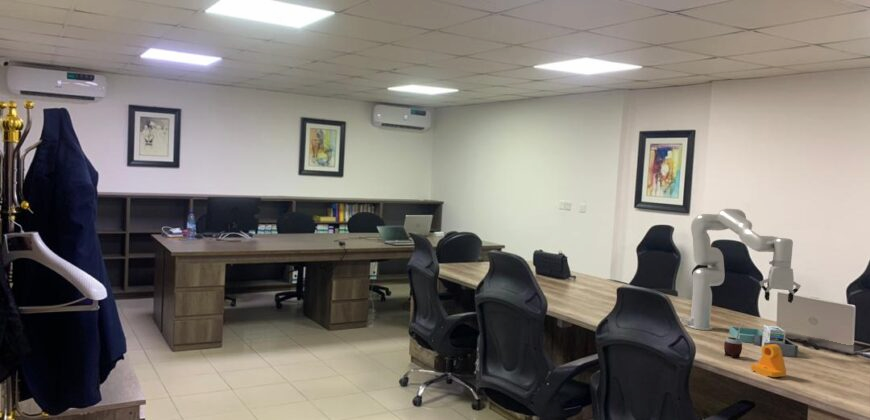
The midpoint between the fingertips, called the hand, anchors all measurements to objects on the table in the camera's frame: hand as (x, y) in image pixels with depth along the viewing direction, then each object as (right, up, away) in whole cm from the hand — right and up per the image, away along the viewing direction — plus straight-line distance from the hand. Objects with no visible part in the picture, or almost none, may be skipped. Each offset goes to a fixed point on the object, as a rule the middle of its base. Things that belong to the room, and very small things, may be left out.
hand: (778, 301), depth 291 cm
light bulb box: (-3, -23, 0) cm, 23 cm away
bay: (-3, -23, 0) cm, 23 cm away
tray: (-3, -22, +20) cm, 30 cm away
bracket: (-26, -24, -39) cm, 53 cm away
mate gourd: (-29, -22, -15) cm, 40 cm away
